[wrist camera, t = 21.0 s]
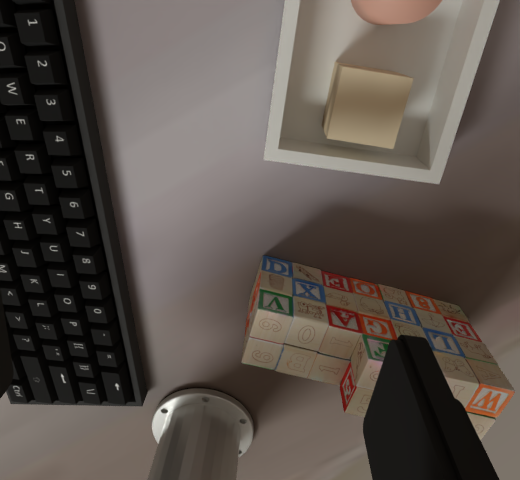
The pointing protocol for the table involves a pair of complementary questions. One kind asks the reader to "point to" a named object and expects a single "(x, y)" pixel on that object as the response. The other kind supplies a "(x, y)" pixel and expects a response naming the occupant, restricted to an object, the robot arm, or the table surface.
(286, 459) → the table surface
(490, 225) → the table surface
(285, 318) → the stack of blocks
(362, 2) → the smooth tan pebble
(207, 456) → the robot arm
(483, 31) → the tote
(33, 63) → the computer keyboard
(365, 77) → the cube
